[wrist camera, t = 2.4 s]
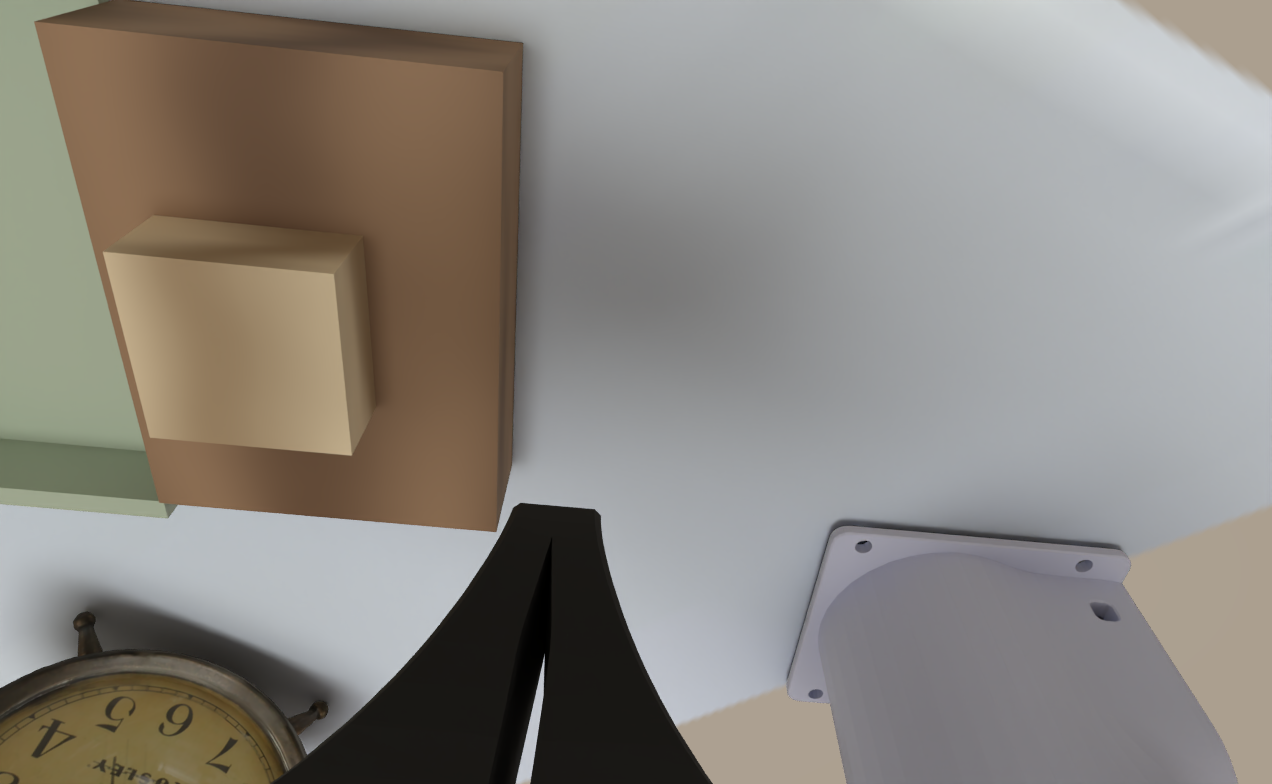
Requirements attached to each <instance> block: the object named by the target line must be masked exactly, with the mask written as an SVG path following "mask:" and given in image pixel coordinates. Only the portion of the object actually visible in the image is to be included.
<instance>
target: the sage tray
mask: <svg viewBox="0 0 1272 784" xmlns="http://www.w3.org/2000/svg"><path fill="white" fill-rule="evenodd" d="M108 1H109V0H0V504H6V505H18V506H29V507H41V508H53V509H64V510H76V511H88V512H99V513H111V514H123V515H134V516H146V517H158V518H169V516H170V515H171V513H172V512H173V511H174V509H175V508H176V507H177V504H166V503H159V500H158V496H157V492H156V489H155V485H154V481H153V477H152V473H151V469H150V466H149V462H148V458H147V454H146V450H145V446H144V442H143V439H142V435H141V431H140V427H139V423H138V419H137V416H136V412H135V408H134V404H133V400H132V396H131V392H130V389H129V385H128V381H127V377H126V373H125V369H124V366H123V362H122V358H121V354H120V350H119V346H118V343H117V339H116V335H115V331H114V327H113V323H112V319H111V316H110V312H109V308H108V304H107V300H106V296H105V293H104V289H103V285H102V281H101V277H100V273H99V269H98V266H97V262H96V258H95V254H94V250H93V246H92V243H91V239H90V235H89V231H88V227H87V223H86V220H85V216H84V212H83V208H82V204H81V200H80V196H79V193H78V189H77V185H76V181H75V177H74V173H73V170H72V166H71V162H70V158H69V154H68V150H67V146H66V143H65V139H64V135H63V131H62V127H61V123H60V120H59V116H58V112H57V108H56V104H55V100H54V97H53V93H52V89H51V85H50V81H49V77H48V73H47V70H46V66H45V62H44V58H43V54H42V50H41V47H40V43H39V39H38V35H37V31H36V27H35V23H34V21H38V20H42V19H45V18H49V17H53V16H56V15H60V14H64V13H67V12H71V11H75V10H78V9H82V8H86V7H89V6H93V5H97V4H101V3H104V2H108Z"/></svg>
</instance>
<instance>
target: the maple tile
mask: <svg viewBox="0 0 1272 784" xmlns="http://www.w3.org/2000/svg"><path fill="white" fill-rule="evenodd" d="M103 255H104V259H105V263H106V267H107V271H108V275H109V278H110V282H111V286H112V290H113V294H114V298H115V302H116V306H117V310H118V314H119V318H120V322H121V326H122V330H123V334H124V337H125V341H126V345H127V349H128V353H129V357H130V361H131V365H132V369H133V373H134V377H135V381H136V385H137V389H138V393H139V397H140V400H141V404H142V408H143V412H144V416H145V420H146V424H147V428H148V432H149V436H150V438H160V439H171V440H182V441H193V442H204V443H216V444H227V445H238V446H249V447H260V448H272V449H283V450H294V451H305V452H317V453H328V454H339V455H350V456H352V454H353V452H354V450H355V448H356V446H357V444H358V442H359V440H360V438H361V436H362V434H363V432H364V430H365V428H366V426H367V424H368V422H369V420H370V418H371V416H372V414H373V412H374V410H375V408H376V398H375V385H374V372H373V360H372V347H371V334H370V321H369V308H368V295H367V282H366V269H365V256H364V243H363V236H359V235H349V234H339V233H328V232H318V231H308V230H298V229H288V228H278V227H268V226H258V225H248V224H238V223H228V222H217V221H207V220H197V219H187V218H177V217H167V216H157V215H153V216H151V217H150V218H149V219H147V220H146V221H144V222H143V223H142V224H140V225H139V226H138V227H136V228H135V229H133V230H132V231H131V232H129V233H128V234H127V235H125V236H124V237H122V238H121V239H120V240H118V241H117V242H115V243H114V244H113V245H111V246H110V247H109V248H107V249H106V250H104V251H103Z"/></svg>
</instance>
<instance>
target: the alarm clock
mask: <svg viewBox="0 0 1272 784" xmlns="http://www.w3.org/2000/svg"><path fill="white" fill-rule="evenodd" d="M95 618H96V617H95V616H94V615H93V614H92V613H89V612H83V613H80V614H79V615H78V616H77V617H76V618H75V620H74V621H73V624H74V628H75V630H77V631H78V632H79V639H78V656H77V657H73V658H70V659H67V660H64V661H61V662H58V663H55V664H53V665H50V666H46V667H43V668H41V669H38V670H36V671H34V672H32V673H30V674H28V675H25V676H23V677H21V678H19V679H17V680H15V681H13V682H11V683H9V684H7V685H5V686H4V687H2V688H0V784H270V783H272V782H273V781H274V780H276V779H277V778H279V777H280V776H281V775H283V774H284V773H286V772H287V771H288V770H290V769H291V768H292V767H293V766H295V765H296V764H297V763H299V762H300V761H301V760H302V759H304V758H305V757H306V756H307V754H306V752H305V749H304V747H303V744H302V742H301V740H300V738H299V737H298V735H299V734H300V733H302V732H303V731H304V730H305V729H306V728H307V727H308V726H310V725H311V724H312V723H313V722H314V721H315V720H316V719H318V720H320V719H323V718H325V716H326V715H327V713H328V705H327V704H326V703H325V702H315V703H314V704H313V705H312V706H311V707H310V709H309V711H307V712H305V713H301V714H298V715H296V716H293V717H291V718H289V719H287V718H286V716H285V715H284V714H283V712H282V711H281V710H280V709H279V708H278V707H277V706H276V705H275V704H274V702H273V701H272V700H271V699H270V698H268V697H267V696H266V695H265V694H264V693H263V692H261V691H260V690H259V689H258V688H257V687H255V686H254V685H253V684H251V683H250V682H249V681H247V680H246V679H244V678H242V677H241V676H239V675H237V674H235V673H234V672H232V671H230V670H228V669H225V668H223V667H221V666H218V665H216V664H213V663H211V662H208V661H206V660H202V659H199V658H196V657H192V656H188V655H184V654H179V653H174V652H168V651H159V650H137V649H125V650H112V651H105V652H102V648H101V646H100V643H99V641H98V638H97V636H96V633H95V630H94V624H95Z"/></svg>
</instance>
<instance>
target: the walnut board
mask: <svg viewBox="0 0 1272 784" xmlns="http://www.w3.org/2000/svg"><path fill="white" fill-rule="evenodd" d="M34 23H35V27H36V31H37V35H38V39H39V43H40V47H41V50H42V54H43V58H44V62H45V66H46V70H47V73H48V77H49V81H50V85H51V89H52V93H53V97H54V100H55V104H56V108H57V112H58V116H59V120H60V123H61V127H62V131H63V135H64V139H65V143H66V146H67V150H68V154H69V158H70V162H71V166H72V170H73V173H74V177H75V181H76V185H77V189H78V193H79V196H80V200H81V204H82V208H83V212H84V216H85V220H86V223H87V227H88V231H89V235H90V239H91V243H92V246H93V250H94V254H95V258H96V262H97V266H98V269H99V273H100V277H101V281H102V285H103V289H104V293H105V296H106V300H107V304H108V308H109V312H110V316H111V319H112V323H113V327H114V331H115V335H116V339H117V343H118V346H119V350H120V354H121V358H122V362H123V366H124V369H125V373H126V377H127V381H128V385H129V389H130V392H131V396H132V400H133V404H134V408H135V412H136V416H137V419H138V423H139V427H140V431H141V435H142V439H143V442H144V446H145V450H146V454H147V458H148V462H149V466H150V469H151V473H152V477H153V481H154V485H155V489H156V492H157V496H158V500H159V503H166V504H177V505H189V506H201V507H212V508H224V509H235V510H247V511H258V512H270V513H282V514H293V515H305V516H316V517H328V518H340V519H351V520H363V521H374V522H386V523H397V524H409V525H421V526H432V527H444V528H455V529H467V530H478V531H490V532H496V531H497V527H498V523H499V518H500V514H501V510H502V505H503V501H504V497H505V492H506V488H507V484H508V479H509V475H510V471H511V467H512V441H513V404H514V366H515V328H516V290H517V252H518V214H519V176H520V139H521V101H522V63H523V43H518V42H509V41H500V40H491V39H482V38H472V37H463V36H454V35H445V34H435V33H426V32H417V31H408V30H399V29H389V28H380V27H371V26H362V25H352V24H343V23H334V22H325V21H316V20H306V19H297V18H288V17H279V16H270V15H260V14H251V13H242V12H233V11H223V10H214V9H205V8H196V7H187V6H177V5H168V4H159V3H150V2H141V1H131V0H112V1H108V2H104V3H101V4H97V5H93V6H89V7H86V8H82V9H78V10H75V11H71V12H67V13H64V14H60V15H56V16H53V17H49V18H45V19H42V20H38V21H34ZM153 215H157V216H167V217H177V218H187V219H197V220H207V221H217V222H228V223H238V224H248V225H258V226H268V227H278V228H288V229H298V230H308V231H318V232H328V233H339V234H349V235H359V236H363V243H364V256H365V269H366V282H367V295H368V308H369V321H370V334H371V347H372V360H373V372H374V385H375V398H376V408H375V410H374V412H373V414H372V416H371V418H370V420H369V422H368V424H367V426H366V428H365V430H364V432H363V434H362V436H361V438H360V440H359V442H358V444H357V446H356V448H355V450H354V452H353V454H352V456H350V455H339V454H328V453H317V452H305V451H294V450H283V449H272V448H260V447H249V446H238V445H227V444H216V443H204V442H193V441H182V440H171V439H160V438H150V436H149V432H148V428H147V424H146V420H145V416H144V412H143V408H142V404H141V400H140V397H139V393H138V389H137V385H136V381H135V377H134V373H133V369H132V365H131V361H130V357H129V353H128V349H127V345H126V341H125V337H124V334H123V330H122V326H121V322H120V318H119V314H118V310H117V306H116V302H115V298H114V294H113V290H112V286H111V282H110V278H109V275H108V271H107V267H106V263H105V259H104V255H103V251H104V250H106V249H107V248H109V247H110V246H111V245H113V244H114V243H115V242H117V241H118V240H120V239H121V238H122V237H124V236H125V235H127V234H128V233H129V232H131V231H132V230H133V229H135V228H136V227H138V226H139V225H140V224H142V223H143V222H144V221H146V220H147V219H149V218H150V217H151V216H153Z"/></svg>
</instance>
